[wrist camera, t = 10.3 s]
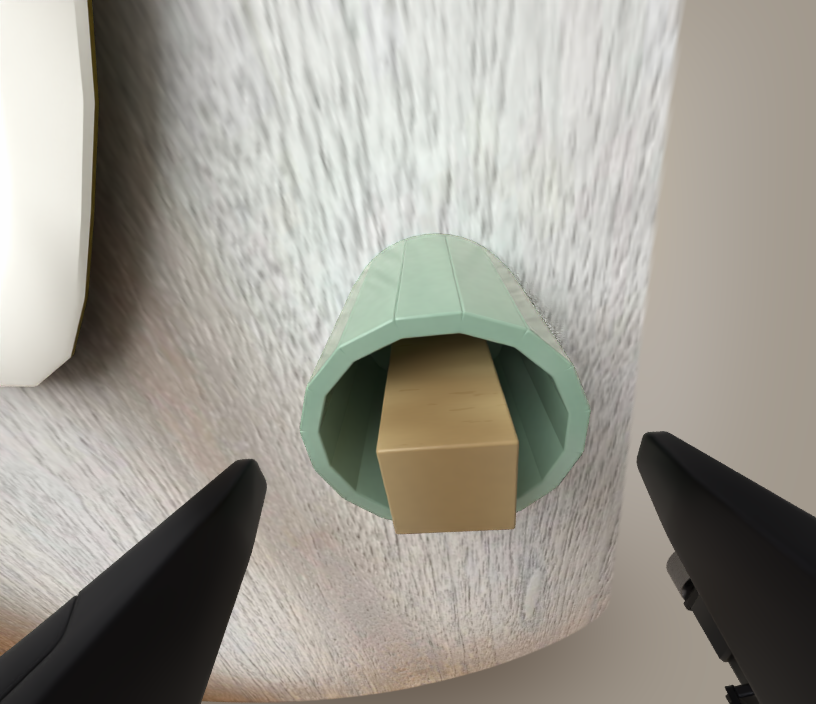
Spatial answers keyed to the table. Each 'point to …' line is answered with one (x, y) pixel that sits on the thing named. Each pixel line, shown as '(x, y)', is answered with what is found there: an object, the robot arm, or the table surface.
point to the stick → (447, 438)
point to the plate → (45, 182)
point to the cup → (428, 316)
